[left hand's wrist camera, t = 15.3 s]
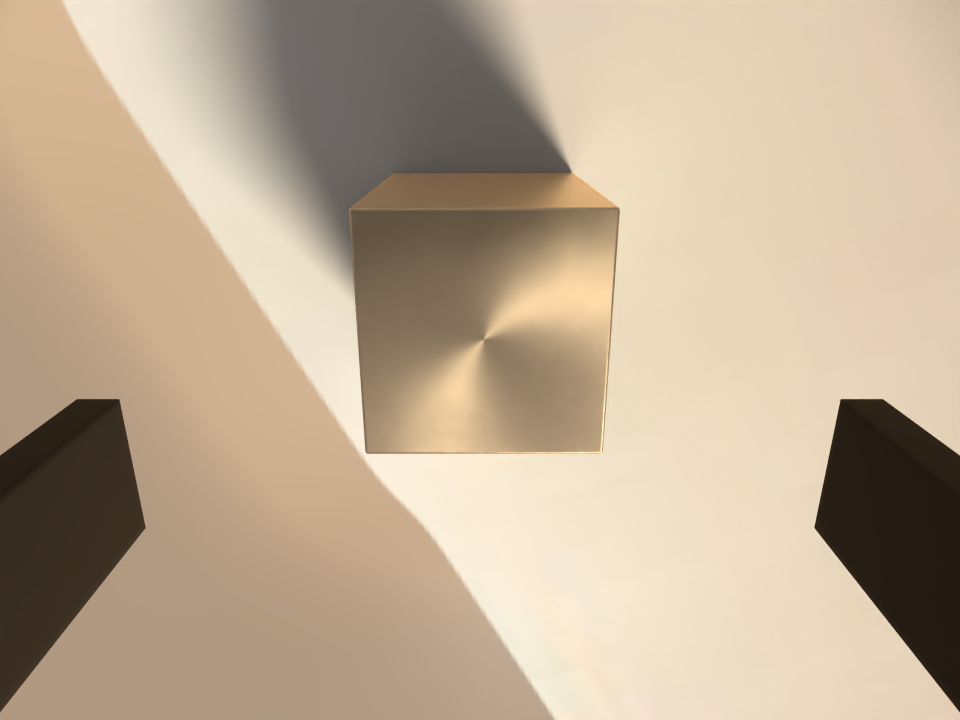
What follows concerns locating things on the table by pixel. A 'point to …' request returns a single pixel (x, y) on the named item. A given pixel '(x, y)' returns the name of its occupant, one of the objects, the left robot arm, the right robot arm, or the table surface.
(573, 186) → the block
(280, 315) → the table surface
